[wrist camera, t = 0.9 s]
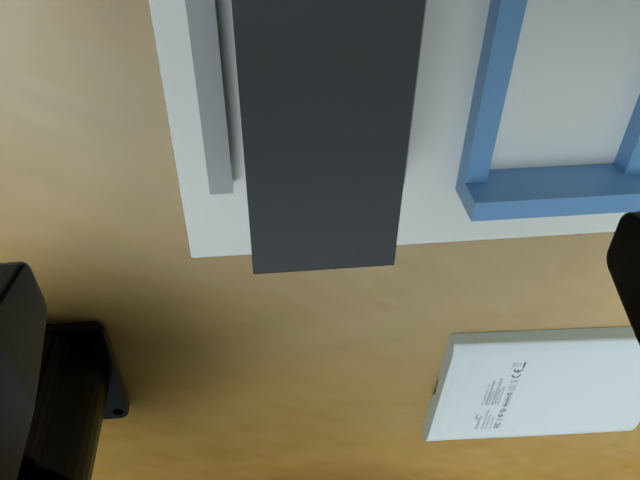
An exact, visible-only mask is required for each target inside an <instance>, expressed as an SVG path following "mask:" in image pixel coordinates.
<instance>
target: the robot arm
mask: <svg viewBox="0 0 640 480" xmlns="http://www.w3.org/2000/svg"><path fill="white" fill-rule="evenodd" d="M607 265H608V269H609V271H610V274H611V276H612V279H613V281H614V284H615V286H616V289H617V291H618V294H619V296H620V299H621V301H622V304H623V306H624V309H625V311H626V314H627V316H628V319H629V321H630V324H631V326H632V329H633V331H634V334H635V336H636V338H637V341H638V343H639V345H640V211H636V212H628V213H625V214H624V215H623V216H622V217H621V218H620V220H619V223H618V225H617V228H616V230H615V233H614V236H613V238H612V241H611V244H610V246H609V249H608V252H607ZM46 319H47V308H46V303H45V300H44V297H43V295H42V293H41V290H40V288H39V286H38V283H37V281H36V279H35V276H34V274H33V272H32V269H31V268H30V266H29V265H28V264H27V263H25V262H8V263H0V480H91V478H92V472H93V467H94V462H95V457H96V452H97V447H98V442H99V436H100V431H101V426H102V421H103V419H113V418H122V417H125V416H127V414H128V412H129V401H128V398H127V395H126V392H125V389H124V386H123V382H122V379H121V376H120V373H119V370H118V367H117V364H116V360H115V357H114V354H113V351H112V348H111V345H110V342H109V339H108V335H107V332H106V329H105V327H104V326H103V325H102V324H100V323H98V322H78V323H64V324H50V325H46ZM90 332H92V333H90Z"/></svg>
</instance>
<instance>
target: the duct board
mask: <svg viewBox="0 0 640 480" xmlns="http://www.w3.org/2000/svg"><path fill="white" fill-rule="evenodd" d="M149 5H150V11H151V17H152V23H153V29H154V35H155V42H156V48H157V54H158V60H159V66H160V72H161V78H162V84H163V90H164V96H165V102H166V108H167V114H168V120H169V126H170V132H171V138H172V144H173V150H174V156H175V162H176V168H177V174H178V180H179V186H180V192H181V198H182V204H183V210H184V216H185V222H186V228H187V234H188V240H189V246H190V252H191V258H200V257H216V256H232V255H248V254H252V251H251V238H250V226H249V213H248V201H247V189H246V176H245V164H244V151H243V139H242V127H241V114H240V102H239V90H238V77H237V65H236V52H235V40H234V28H233V15H232V3H231V0H149ZM636 211H640V0H426V3H425V11H424V19H423V28H422V36H421V44H420V53H419V61H418V69H417V78H416V86H415V94H414V103H413V111H412V119H411V127H410V136H409V144H408V152H407V161H406V169H405V177H404V186H403V194H402V202H401V211H400V219H399V227H398V235H397V244H396V245H408V244H424V243H440V242H456V241H472V240H488V239H504V238H520V237H536V236H552V235H568V234H584V233H600V232H615V230H616V228H617V225H618V223H619V220H620V218H621V217H622V216H623V215H624V214H625V213H628V212H636Z"/></svg>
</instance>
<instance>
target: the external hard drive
mask: <svg viewBox="0 0 640 480" xmlns="http://www.w3.org/2000/svg"><path fill="white" fill-rule="evenodd" d="M639 422H640V345H639V343H638V341H637V338H636V336H635V334H634V331H633V329H632V326H628V327H604V328H580V329H555V330H530V331H506V332H483V333H459V334H450V336H449V340H448V343H447V347H446V350H445V353H444V357H443V360H442V364H441V367H440V370H439V374H438V385H437V388H436V392H435V393H433V394H432V397H431V400H430V404H429V407H428V410H427V414H426V417H425V420H424V424H423V427H422V431H423V435H424V439H425V441H441V440H457V439H478V438H498V437H518V436H537V435H556V434H575V433H594V432H612V431H630V430H633V429H634V428H636V426H637V425H638V423H639Z"/></svg>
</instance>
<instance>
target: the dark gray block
mask: <svg viewBox="0 0 640 480" xmlns="http://www.w3.org/2000/svg"><path fill="white" fill-rule="evenodd" d="M231 3H232V15H233V28H234V40H235V52H236V65H237V77H238V90H239V102H240V114H241V127H242V139H243V151H244V164H245V176H246V189H247V201H248V213H249V226H250V238H251V251H252V263H253V274H263V273H279V272H294V271H309V270H325V269H340V268H355V267H370V266H386V265H394V260H395V252H396V244H397V235H398V227H399V219H400V211H401V202H402V194H403V186H404V177H405V169H406V161H407V152H408V144H409V136H410V127H411V119H412V111H413V103H414V94H415V86H416V78H417V69H418V61H419V53H420V44H421V36H422V28H423V19H424V11H425V3H426V0H231Z"/></svg>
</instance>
